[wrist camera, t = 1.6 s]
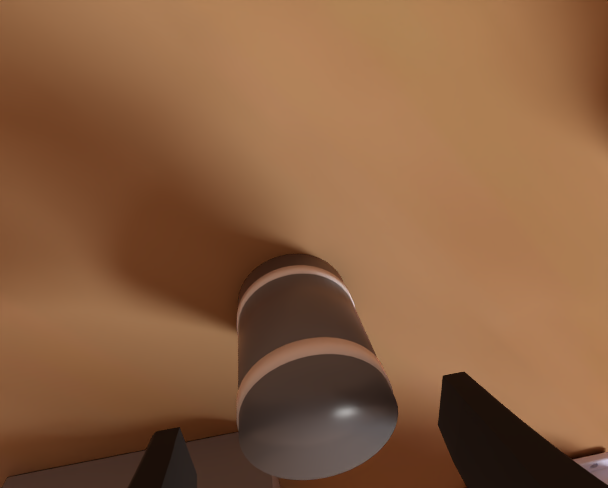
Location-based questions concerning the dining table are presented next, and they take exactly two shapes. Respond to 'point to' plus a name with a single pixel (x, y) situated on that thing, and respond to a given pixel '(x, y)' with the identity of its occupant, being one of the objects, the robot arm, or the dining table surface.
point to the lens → (307, 373)
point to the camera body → (120, 469)
